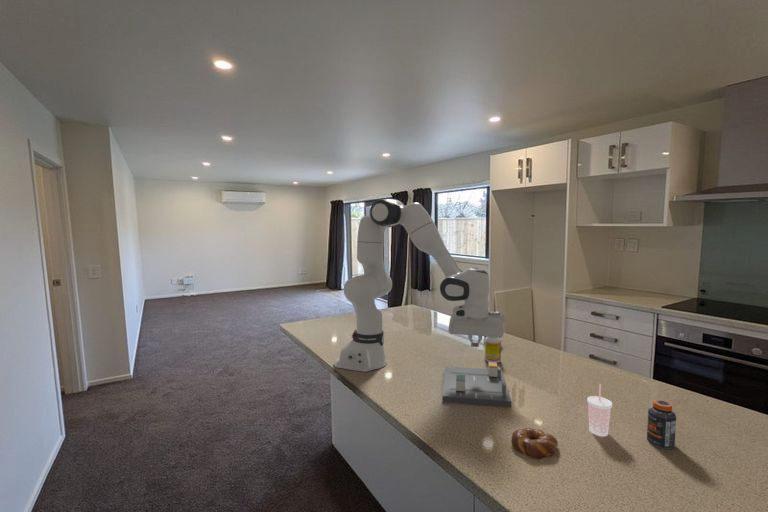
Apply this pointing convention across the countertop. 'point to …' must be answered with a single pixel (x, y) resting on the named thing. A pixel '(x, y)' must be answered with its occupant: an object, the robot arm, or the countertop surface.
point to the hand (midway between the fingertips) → (474, 346)
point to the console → (476, 387)
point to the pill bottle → (661, 425)
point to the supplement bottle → (493, 349)
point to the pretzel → (534, 443)
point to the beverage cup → (599, 414)
